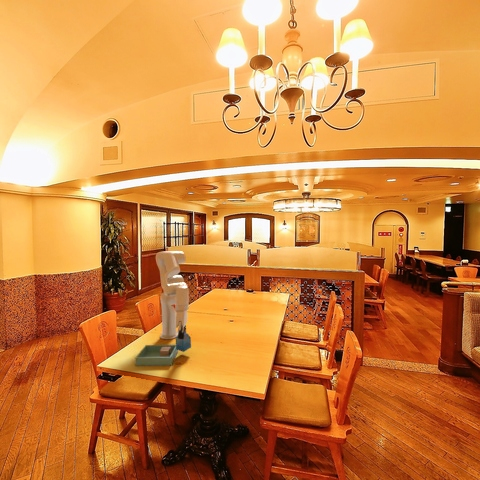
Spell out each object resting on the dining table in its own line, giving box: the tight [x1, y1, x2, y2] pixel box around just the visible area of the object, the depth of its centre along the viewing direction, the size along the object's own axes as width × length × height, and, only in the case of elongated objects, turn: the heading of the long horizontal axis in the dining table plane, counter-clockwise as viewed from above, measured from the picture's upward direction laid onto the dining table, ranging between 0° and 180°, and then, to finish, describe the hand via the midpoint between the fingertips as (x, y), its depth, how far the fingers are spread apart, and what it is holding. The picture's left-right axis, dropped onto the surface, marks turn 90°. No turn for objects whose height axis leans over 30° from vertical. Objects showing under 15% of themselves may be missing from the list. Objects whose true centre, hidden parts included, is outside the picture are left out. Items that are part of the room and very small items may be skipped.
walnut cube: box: [160, 347, 171, 357], centre depth 147 cm, size 5×5×5 cm
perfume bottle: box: [175, 328, 192, 353], centre depth 150 cm, size 6×6×12 cm
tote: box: [134, 344, 179, 367], centre depth 147 cm, size 16×20×4 cm
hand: (182, 336), depth 150 cm, fingers closed on perfume bottle, 5 cm apart
